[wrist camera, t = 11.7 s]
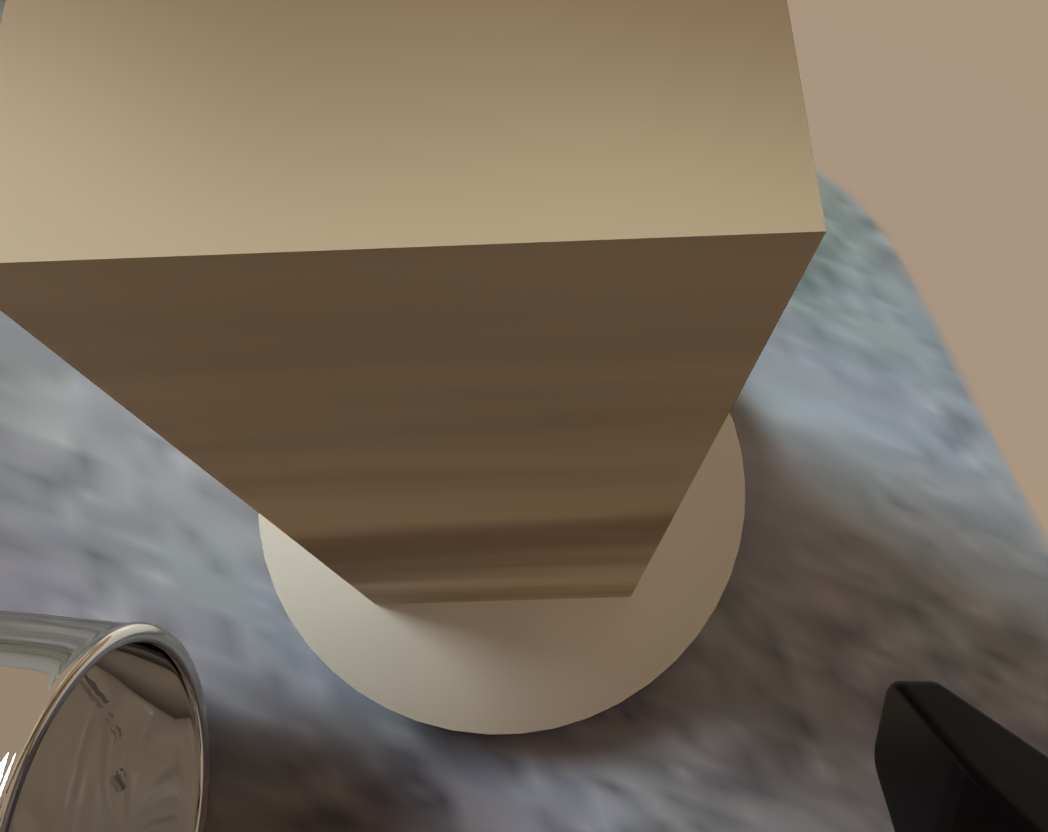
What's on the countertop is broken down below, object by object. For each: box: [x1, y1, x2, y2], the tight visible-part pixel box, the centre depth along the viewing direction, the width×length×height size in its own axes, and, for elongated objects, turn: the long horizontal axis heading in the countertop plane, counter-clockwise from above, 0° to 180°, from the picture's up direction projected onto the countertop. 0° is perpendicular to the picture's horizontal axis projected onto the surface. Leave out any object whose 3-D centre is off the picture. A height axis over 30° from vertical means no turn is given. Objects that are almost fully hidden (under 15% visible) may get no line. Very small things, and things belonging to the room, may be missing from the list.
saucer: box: [259, 412, 745, 735], centre depth 19 cm, size 10×10×1 cm
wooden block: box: [0, 0, 826, 604], centre depth 12 cm, size 5×5×13 cm
